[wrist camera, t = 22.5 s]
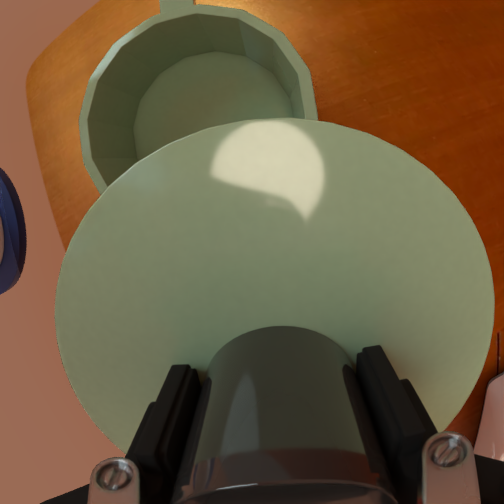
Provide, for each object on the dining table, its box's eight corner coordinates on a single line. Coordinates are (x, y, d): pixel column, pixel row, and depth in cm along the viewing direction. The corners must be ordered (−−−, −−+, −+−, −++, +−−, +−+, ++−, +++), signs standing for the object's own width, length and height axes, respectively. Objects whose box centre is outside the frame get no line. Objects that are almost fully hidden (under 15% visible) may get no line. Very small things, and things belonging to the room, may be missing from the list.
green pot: (148, 255, 29) (108, 287, 21) (120, 46, 24) (75, 16, 16) (316, 233, 28) (334, 262, 20) (281, 11, 23) (285, -37, 15)
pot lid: (142, 482, 14) (111, 573, 7) (29, 176, 10) (-118, 206, 3) (437, 456, 13) (475, 545, 6) (482, 120, 8) (632, 112, 2)
